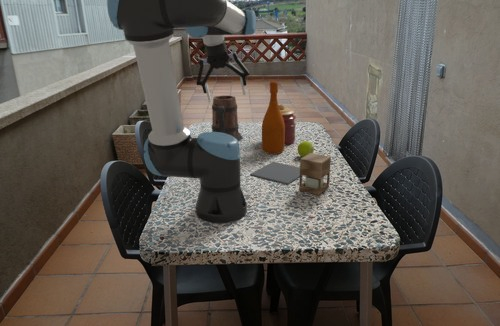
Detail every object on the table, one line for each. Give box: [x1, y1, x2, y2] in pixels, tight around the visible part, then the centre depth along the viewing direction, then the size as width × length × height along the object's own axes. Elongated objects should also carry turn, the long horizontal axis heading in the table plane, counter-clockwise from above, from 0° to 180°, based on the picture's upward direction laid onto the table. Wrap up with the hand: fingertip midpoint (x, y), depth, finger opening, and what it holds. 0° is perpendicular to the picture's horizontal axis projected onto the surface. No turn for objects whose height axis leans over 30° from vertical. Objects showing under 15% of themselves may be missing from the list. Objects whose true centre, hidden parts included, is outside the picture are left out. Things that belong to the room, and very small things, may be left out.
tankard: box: [211, 95, 244, 142], centre depth 184 cm, size 24×17×20 cm
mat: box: [250, 161, 300, 186], centre depth 146 cm, size 16×16×1 cm
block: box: [304, 176, 325, 189], centre depth 132 cm, size 4×4×4 cm
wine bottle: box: [261, 80, 285, 155], centre depth 166 cm, size 10×10×30 cm
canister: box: [279, 104, 297, 146], centre depth 181 cm, size 13×13×18 cm
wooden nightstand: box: [298, 152, 332, 196], centre depth 130 cm, size 7×7×11 cm
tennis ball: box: [297, 140, 315, 158], centre depth 162 cm, size 7×7×7 cm
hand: (227, 96), depth 152 cm, fingers open, 13 cm apart
